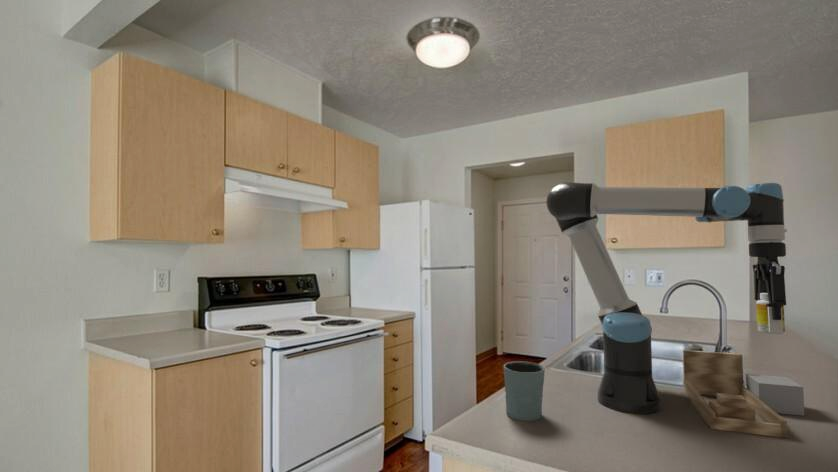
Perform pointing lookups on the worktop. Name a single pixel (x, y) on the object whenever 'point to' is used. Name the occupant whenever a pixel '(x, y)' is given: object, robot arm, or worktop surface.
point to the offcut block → (732, 400)
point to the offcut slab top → (733, 411)
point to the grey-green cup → (524, 390)
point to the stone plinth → (777, 393)
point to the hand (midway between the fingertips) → (770, 330)
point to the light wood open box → (726, 392)
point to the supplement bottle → (765, 314)
